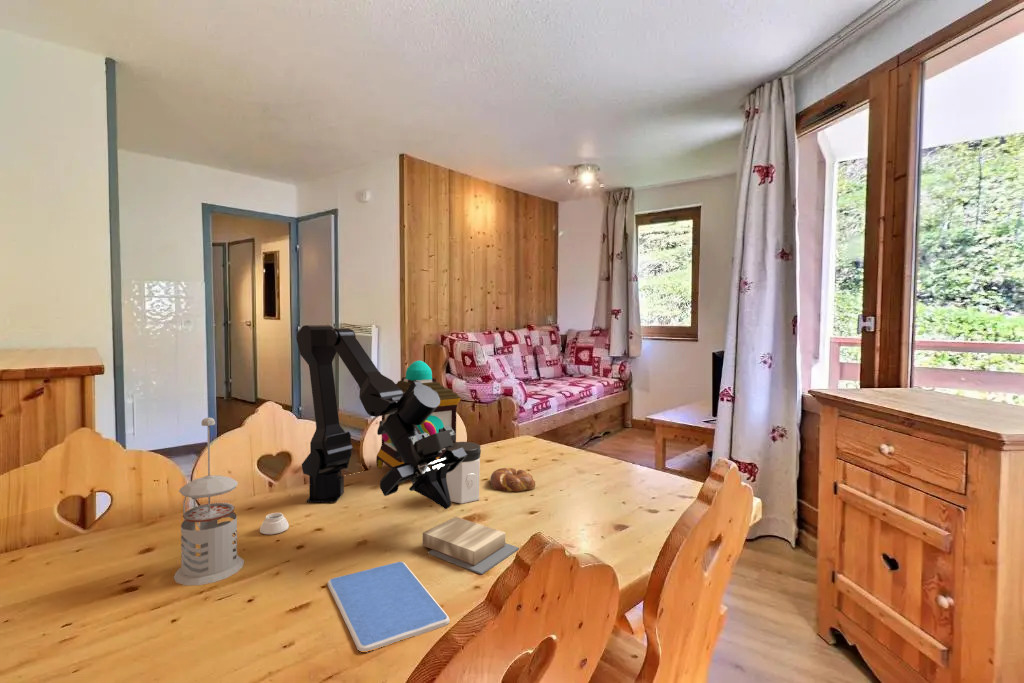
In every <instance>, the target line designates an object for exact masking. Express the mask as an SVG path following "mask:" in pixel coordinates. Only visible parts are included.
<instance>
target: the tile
mask: <svg viewBox="0 0 1024 683" xmlns="http://www.w3.org/2000/svg"><path fill="white" fill-rule="evenodd" d="M506 533H507V532H504V531H502V530H499V529H496V528H492V527H489V526H486V525H483V524H480V523H476V522H473V521H471V520H469V519H464V518H461V517H458V516H453V517H452V518H450V519H447V520H445V521H443V522H442V523H439V524H437V525H436V526H434V527H431V528H429V529H427V530H425V531H424V532H422V546H424V547H425V548H429V549H430V550H436V551H438V552H441V553H443V554H446V555H449V556H451V557H454V558H456V559H459V560H461V561H464V562H467V563H469V564H472V565H476V564H477V563H479V562H480V561H482V560H483V559H485V558H486V557H488V556H489V555H491V554H493V553H494V552H496V551H497V550H499V549H500V548H502V547H503V546H505V543H506V535H507V534H506Z"/></svg>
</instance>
